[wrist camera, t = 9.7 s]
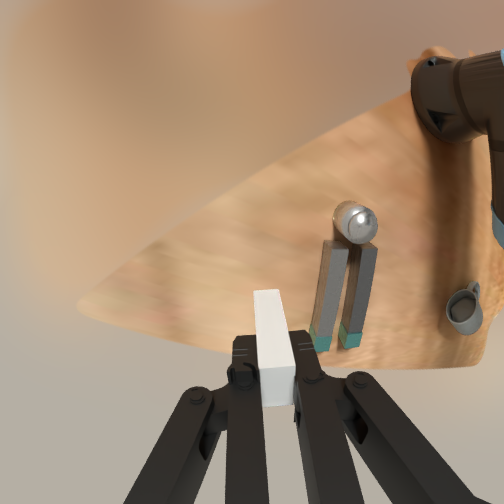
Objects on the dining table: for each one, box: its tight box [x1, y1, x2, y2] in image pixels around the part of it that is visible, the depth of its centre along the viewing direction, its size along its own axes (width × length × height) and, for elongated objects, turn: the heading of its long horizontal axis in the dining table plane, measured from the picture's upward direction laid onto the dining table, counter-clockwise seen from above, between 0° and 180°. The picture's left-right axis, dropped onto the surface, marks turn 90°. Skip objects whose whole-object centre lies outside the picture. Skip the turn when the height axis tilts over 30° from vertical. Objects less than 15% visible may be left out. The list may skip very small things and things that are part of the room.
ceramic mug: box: [446, 281, 483, 335], centre depth 41 cm, size 11×8×8 cm
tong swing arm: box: [309, 211, 378, 352], centre depth 39 cm, size 23×6×5 cm, turn 178°
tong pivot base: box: [333, 201, 378, 349], centre depth 39 cm, size 24×6×4 cm, turn 1°
